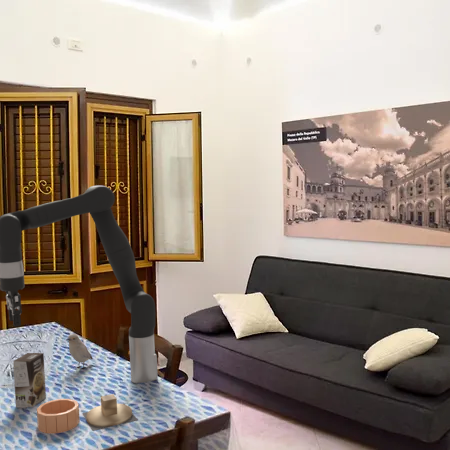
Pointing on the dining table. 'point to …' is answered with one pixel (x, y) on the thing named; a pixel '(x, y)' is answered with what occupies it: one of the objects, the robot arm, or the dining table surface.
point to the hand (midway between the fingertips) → (15, 323)
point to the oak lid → (109, 412)
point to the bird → (78, 349)
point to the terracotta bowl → (58, 416)
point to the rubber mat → (108, 426)
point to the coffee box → (29, 380)
